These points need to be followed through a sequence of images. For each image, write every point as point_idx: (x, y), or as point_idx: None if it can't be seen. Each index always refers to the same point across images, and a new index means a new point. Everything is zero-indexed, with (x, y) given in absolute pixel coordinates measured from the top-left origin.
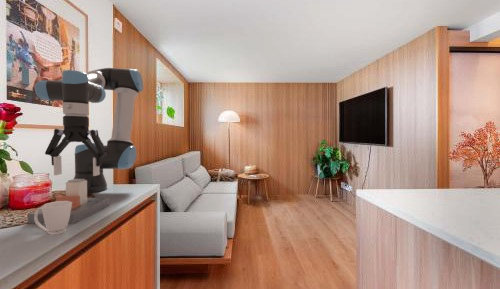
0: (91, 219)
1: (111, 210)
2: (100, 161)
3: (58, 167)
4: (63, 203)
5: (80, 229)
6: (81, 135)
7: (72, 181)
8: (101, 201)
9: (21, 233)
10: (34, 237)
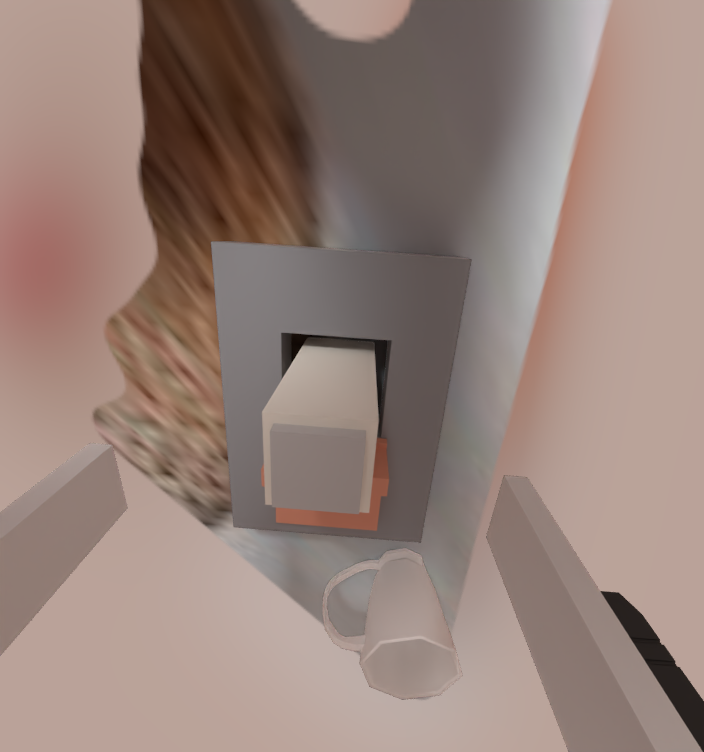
0: (460, 473)
1: (506, 355)
2: (663, 684)
3: (59, 540)
4: (410, 630)
5: (464, 556)
6: None
7: (310, 505)
8: (455, 344)
9: (302, 569)
10: (362, 594)
